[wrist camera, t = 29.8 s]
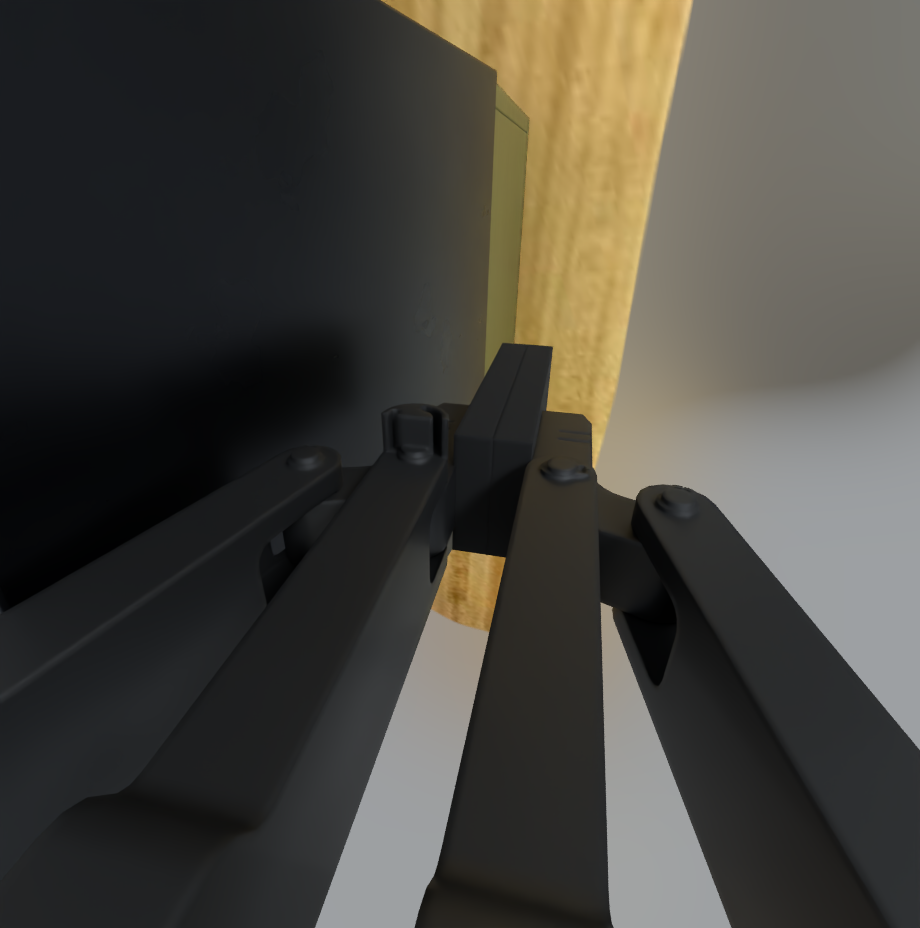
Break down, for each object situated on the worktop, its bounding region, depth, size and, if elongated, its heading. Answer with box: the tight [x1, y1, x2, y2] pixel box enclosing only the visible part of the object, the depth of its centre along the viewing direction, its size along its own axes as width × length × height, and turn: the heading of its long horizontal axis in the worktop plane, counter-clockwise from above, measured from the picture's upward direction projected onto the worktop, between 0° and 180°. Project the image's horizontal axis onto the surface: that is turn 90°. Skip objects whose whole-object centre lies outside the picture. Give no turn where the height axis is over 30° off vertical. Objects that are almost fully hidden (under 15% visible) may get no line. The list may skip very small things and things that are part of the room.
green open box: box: [484, 84, 529, 377], centre depth 30 cm, size 18×18×14 cm
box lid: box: [0, 0, 497, 614], centre depth 14 cm, size 18×18×1 cm
